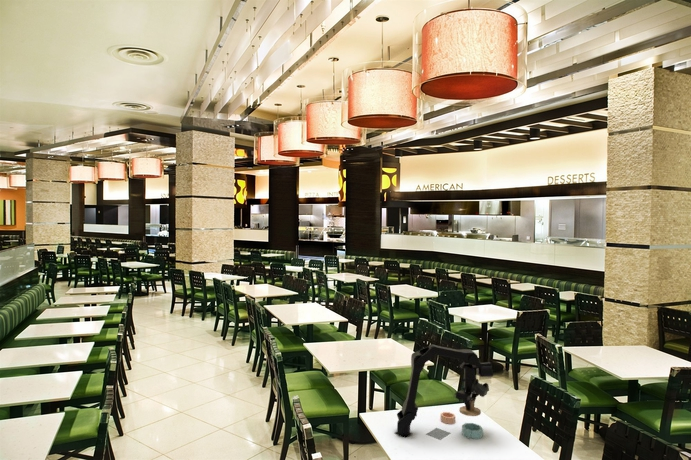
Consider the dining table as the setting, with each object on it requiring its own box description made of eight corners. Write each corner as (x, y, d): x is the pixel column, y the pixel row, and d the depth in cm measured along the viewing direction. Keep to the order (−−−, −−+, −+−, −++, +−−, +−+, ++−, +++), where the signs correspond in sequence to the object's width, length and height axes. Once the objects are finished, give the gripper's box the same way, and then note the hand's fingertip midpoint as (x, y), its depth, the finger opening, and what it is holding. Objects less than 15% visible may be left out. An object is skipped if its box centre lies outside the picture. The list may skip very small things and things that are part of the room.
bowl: (476, 441, 216) (476, 433, 216) (459, 435, 222) (459, 427, 222) (484, 435, 223) (485, 427, 223) (467, 429, 229) (468, 421, 229)
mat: (440, 440, 216) (440, 439, 216) (425, 435, 221) (425, 434, 221) (450, 433, 224) (451, 433, 224) (436, 428, 229) (436, 427, 229)
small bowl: (450, 426, 232) (450, 419, 232) (438, 421, 237) (438, 414, 237) (457, 421, 237) (457, 415, 237) (445, 417, 242) (445, 411, 242)
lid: (474, 418, 215) (474, 405, 215) (455, 412, 222) (455, 400, 222) (484, 411, 223) (484, 399, 223) (465, 405, 229) (465, 394, 229)
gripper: (476, 386, 210) (476, 420, 210) (494, 375, 224) (494, 407, 224) (454, 380, 217) (454, 413, 218) (473, 370, 231) (473, 401, 231)
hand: (470, 408), depth 222 cm, fingers closed on lid, 3 cm apart
